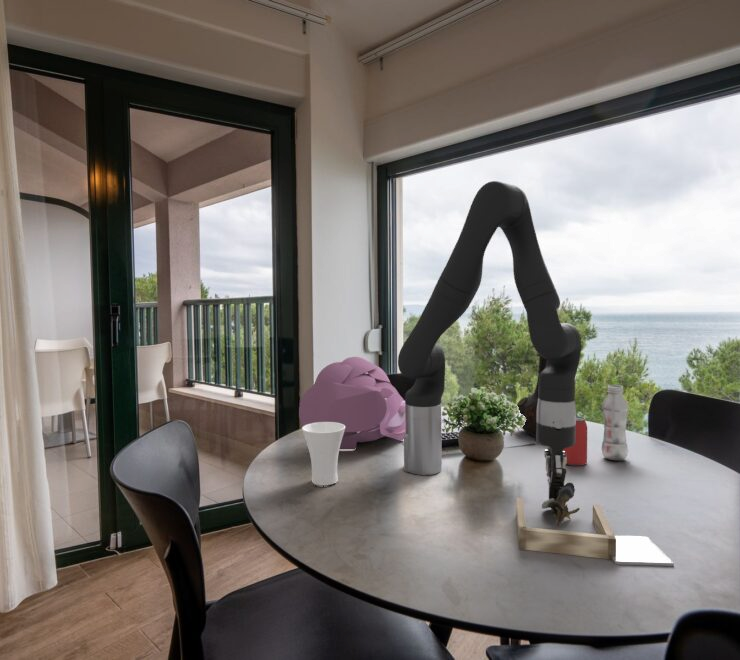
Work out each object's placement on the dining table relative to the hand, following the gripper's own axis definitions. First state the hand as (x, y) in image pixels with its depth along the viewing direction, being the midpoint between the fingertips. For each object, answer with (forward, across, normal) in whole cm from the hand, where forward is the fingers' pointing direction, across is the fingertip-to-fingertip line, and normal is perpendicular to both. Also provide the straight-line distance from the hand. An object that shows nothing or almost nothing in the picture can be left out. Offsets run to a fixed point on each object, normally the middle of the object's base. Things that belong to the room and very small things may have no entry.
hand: (554, 502), depth 101 cm
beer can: (+2, -32, +8) cm, 33 cm away
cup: (+2, -5, -52) cm, 52 cm away
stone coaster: (+1, +15, +11) cm, 19 cm away
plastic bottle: (+2, -36, +20) cm, 41 cm away
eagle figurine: (+1, +4, 0) cm, 5 cm away
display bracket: (+1, +11, 0) cm, 11 cm away
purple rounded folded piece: (+2, -39, -51) cm, 65 cm away
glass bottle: (+2, -59, +4) cm, 59 cm away
